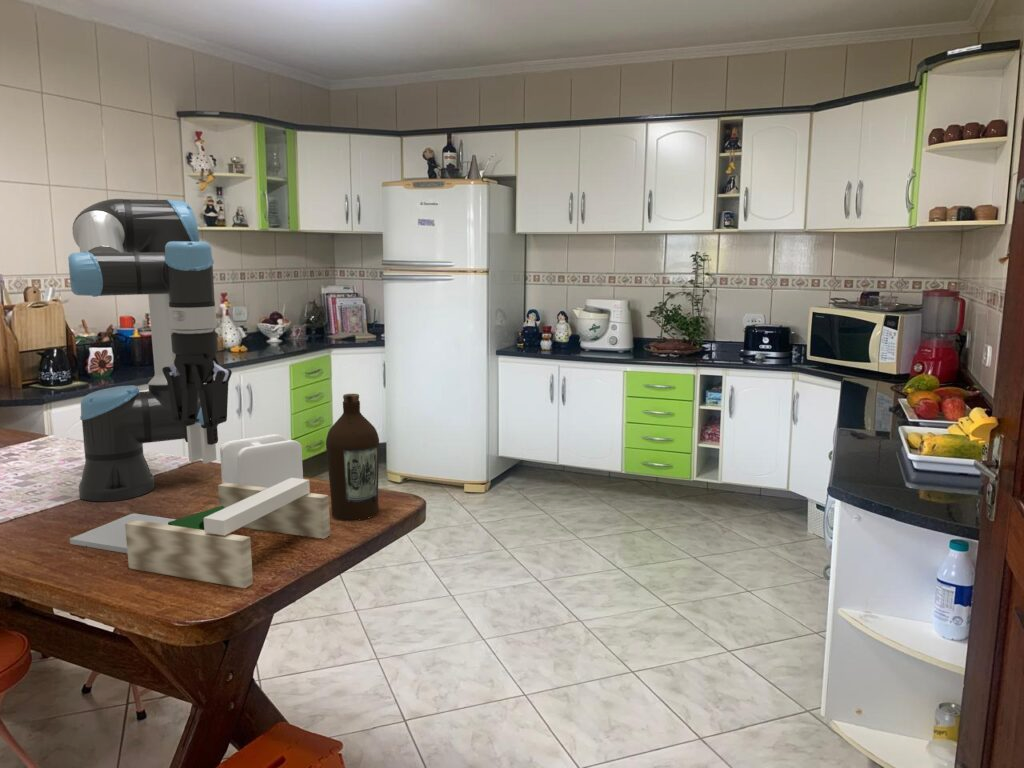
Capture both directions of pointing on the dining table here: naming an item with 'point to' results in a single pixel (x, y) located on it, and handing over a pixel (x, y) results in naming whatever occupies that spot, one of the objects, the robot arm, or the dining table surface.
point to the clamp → (195, 519)
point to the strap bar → (255, 506)
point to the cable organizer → (261, 461)
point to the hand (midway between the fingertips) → (202, 460)
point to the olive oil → (353, 463)
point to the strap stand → (221, 539)
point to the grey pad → (113, 533)
